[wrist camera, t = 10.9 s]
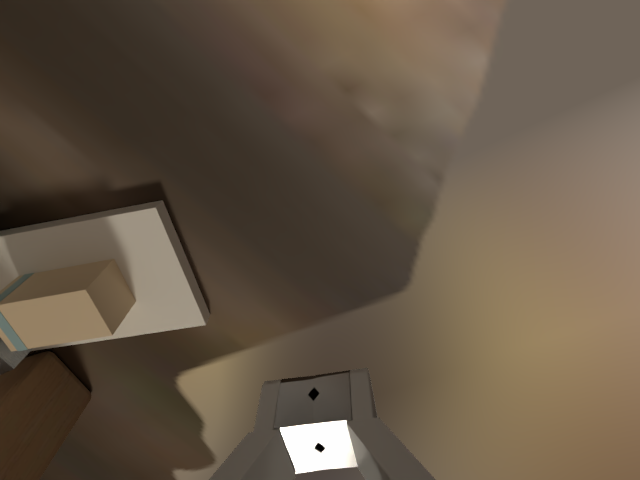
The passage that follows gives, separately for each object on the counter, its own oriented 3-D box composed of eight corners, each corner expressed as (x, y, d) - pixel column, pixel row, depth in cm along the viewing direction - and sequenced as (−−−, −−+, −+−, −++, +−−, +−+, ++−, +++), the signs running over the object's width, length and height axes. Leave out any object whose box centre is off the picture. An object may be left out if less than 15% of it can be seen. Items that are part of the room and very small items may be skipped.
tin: (-6, 327, 50) (-39, 356, 46) (17, 316, 49) (-14, 345, 45) (18, 349, 52) (-11, 379, 47) (41, 339, 51) (13, 369, 46)
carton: (114, 258, 45) (18, 275, 46) (85, 289, 40) (-23, 308, 41) (136, 301, 48) (45, 316, 49) (112, 336, 42) (11, 352, 44)
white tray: (-62, 242, 47) (-78, 250, 45) (162, 200, 44) (155, 207, 42) (13, 344, 54) (2, 355, 52) (210, 314, 51) (206, 324, 49)
